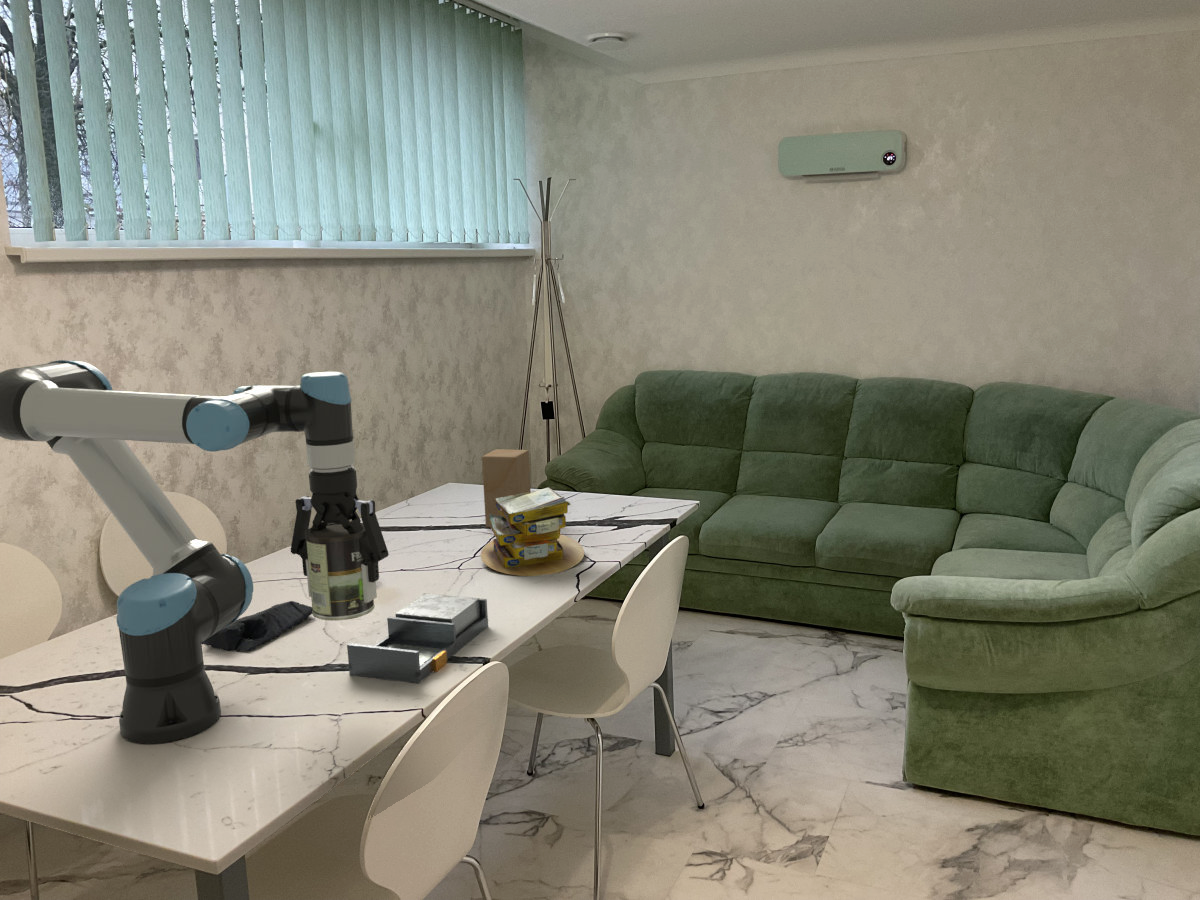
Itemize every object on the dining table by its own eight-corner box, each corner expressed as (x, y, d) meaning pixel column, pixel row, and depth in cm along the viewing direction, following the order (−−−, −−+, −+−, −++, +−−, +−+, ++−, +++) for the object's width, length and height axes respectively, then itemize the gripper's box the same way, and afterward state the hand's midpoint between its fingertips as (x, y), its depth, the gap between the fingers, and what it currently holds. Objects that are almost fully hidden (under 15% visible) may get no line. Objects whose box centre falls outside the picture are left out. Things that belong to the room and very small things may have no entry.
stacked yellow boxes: (591, 571, 233) (589, 501, 230) (485, 580, 229) (481, 509, 226) (575, 542, 257) (572, 478, 254) (478, 550, 253) (474, 485, 250)
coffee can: (384, 600, 172) (379, 521, 170) (358, 622, 162) (352, 538, 160) (329, 598, 174) (322, 520, 172) (300, 619, 164) (293, 536, 162)
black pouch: (327, 619, 209) (325, 597, 208) (243, 657, 190) (241, 634, 189) (274, 609, 216) (272, 588, 215) (189, 644, 197) (186, 622, 196)
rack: (422, 683, 175) (419, 650, 173) (349, 674, 179) (346, 642, 178) (491, 626, 200) (489, 596, 199) (426, 619, 205) (424, 591, 204)
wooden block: (485, 527, 273) (481, 456, 269) (499, 518, 283) (495, 448, 279) (519, 529, 270) (515, 457, 266) (532, 519, 280) (529, 449, 276)
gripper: (404, 465, 163) (413, 595, 168) (288, 459, 171) (299, 584, 175) (380, 475, 156) (390, 610, 161) (259, 469, 164) (272, 598, 168)
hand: (342, 597), depth 168 cm, fingers closed on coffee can, 10 cm apart
